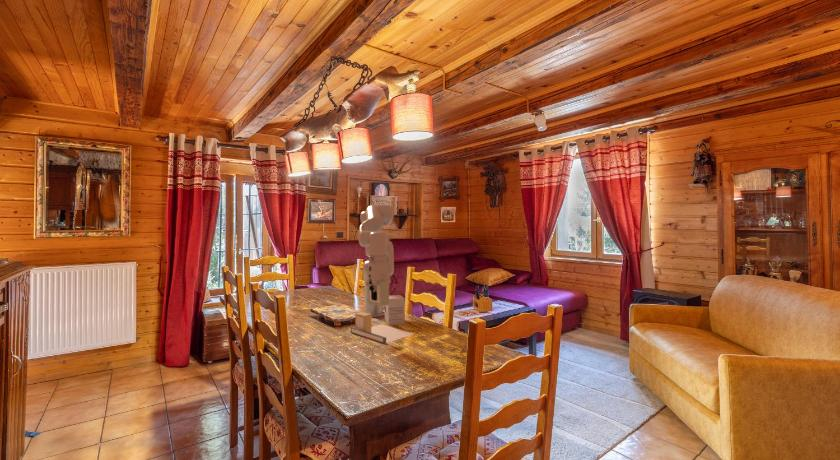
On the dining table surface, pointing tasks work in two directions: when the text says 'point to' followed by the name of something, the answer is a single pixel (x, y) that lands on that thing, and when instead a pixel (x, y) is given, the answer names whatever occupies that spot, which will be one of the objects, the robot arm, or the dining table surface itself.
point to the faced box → (363, 321)
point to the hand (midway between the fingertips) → (378, 298)
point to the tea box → (381, 294)
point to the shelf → (382, 333)
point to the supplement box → (395, 310)
